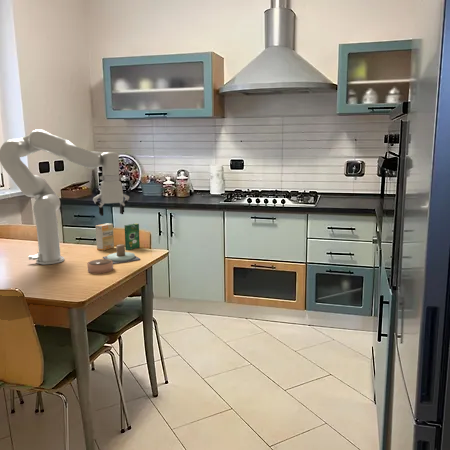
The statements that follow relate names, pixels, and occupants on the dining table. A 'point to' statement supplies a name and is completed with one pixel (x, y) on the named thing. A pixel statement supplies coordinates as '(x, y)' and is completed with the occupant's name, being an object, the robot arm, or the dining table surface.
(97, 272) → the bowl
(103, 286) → the dining table surface
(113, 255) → the lid
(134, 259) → the mat
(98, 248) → the supplement box
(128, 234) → the coffee box
